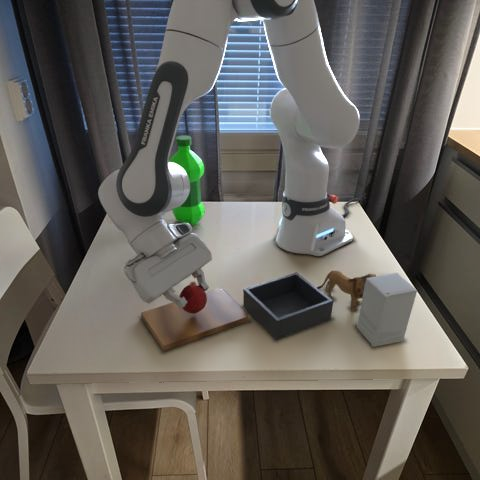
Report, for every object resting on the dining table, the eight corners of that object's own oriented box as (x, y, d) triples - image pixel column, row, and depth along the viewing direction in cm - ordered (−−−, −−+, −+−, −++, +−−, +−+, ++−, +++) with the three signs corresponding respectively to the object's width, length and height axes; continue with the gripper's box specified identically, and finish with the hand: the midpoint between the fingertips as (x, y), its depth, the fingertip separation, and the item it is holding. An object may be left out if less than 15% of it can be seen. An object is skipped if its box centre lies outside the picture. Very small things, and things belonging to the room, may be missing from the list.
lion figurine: (377, 305, 104) (385, 272, 98) (368, 317, 100) (376, 283, 95) (320, 285, 110) (325, 253, 105) (310, 295, 107) (314, 262, 102)
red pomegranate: (196, 324, 95) (193, 293, 90) (175, 315, 98) (172, 284, 93) (212, 311, 99) (211, 280, 94) (192, 302, 101) (189, 272, 97)
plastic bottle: (166, 220, 140) (157, 136, 124) (195, 212, 145) (190, 130, 129) (183, 232, 133) (176, 145, 118) (212, 222, 138) (209, 138, 123)
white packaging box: (404, 341, 94) (419, 290, 86) (372, 347, 92) (384, 297, 84) (385, 320, 99) (397, 271, 92) (355, 326, 98) (365, 277, 90)
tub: (294, 289, 109) (296, 271, 106) (330, 319, 100) (333, 300, 97) (243, 307, 103) (243, 288, 100) (275, 340, 94) (277, 321, 91)
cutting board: (220, 292, 108) (220, 287, 107) (248, 321, 99) (248, 316, 98) (141, 317, 100) (140, 312, 99) (163, 351, 91) (163, 345, 90)
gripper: (126, 258, 85) (170, 317, 86) (193, 220, 98) (230, 272, 100) (113, 272, 89) (155, 327, 91) (179, 233, 103) (215, 282, 104)
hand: (195, 298), depth 95 cm, fingers closed on red pomegranate, 6 cm apart
